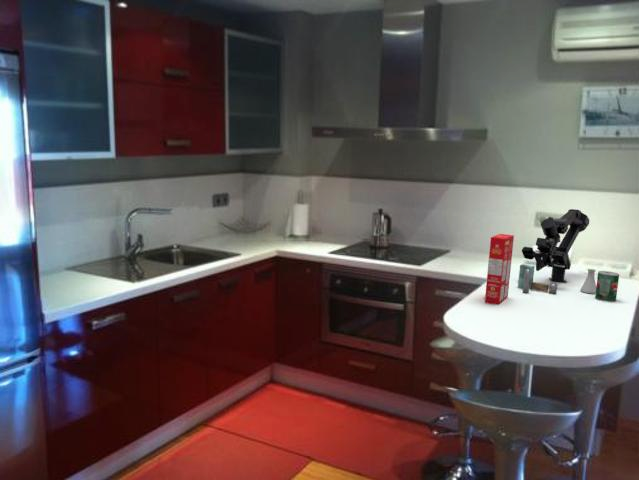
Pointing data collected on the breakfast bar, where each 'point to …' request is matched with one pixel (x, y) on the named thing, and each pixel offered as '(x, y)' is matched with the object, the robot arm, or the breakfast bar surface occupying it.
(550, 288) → the hinge post
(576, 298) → the breakfast bar surface
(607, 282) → the canned tomato
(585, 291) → the flask
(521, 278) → the gate
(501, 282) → the food packaging
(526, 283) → the post
